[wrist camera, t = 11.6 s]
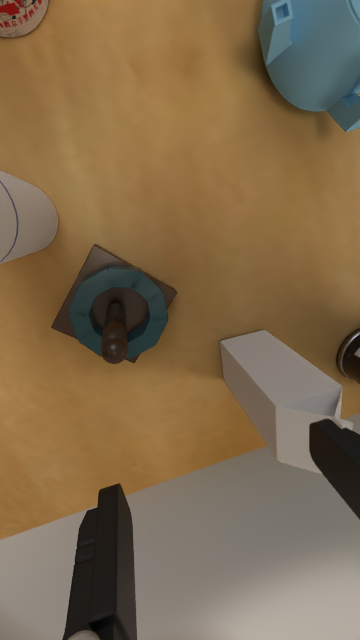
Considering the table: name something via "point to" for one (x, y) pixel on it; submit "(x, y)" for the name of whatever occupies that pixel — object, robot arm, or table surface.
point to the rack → (111, 308)
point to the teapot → (315, 55)
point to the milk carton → (280, 394)
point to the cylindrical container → (24, 218)
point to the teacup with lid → (20, 16)
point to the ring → (120, 278)
